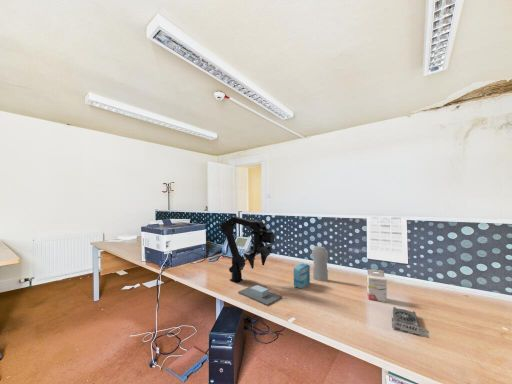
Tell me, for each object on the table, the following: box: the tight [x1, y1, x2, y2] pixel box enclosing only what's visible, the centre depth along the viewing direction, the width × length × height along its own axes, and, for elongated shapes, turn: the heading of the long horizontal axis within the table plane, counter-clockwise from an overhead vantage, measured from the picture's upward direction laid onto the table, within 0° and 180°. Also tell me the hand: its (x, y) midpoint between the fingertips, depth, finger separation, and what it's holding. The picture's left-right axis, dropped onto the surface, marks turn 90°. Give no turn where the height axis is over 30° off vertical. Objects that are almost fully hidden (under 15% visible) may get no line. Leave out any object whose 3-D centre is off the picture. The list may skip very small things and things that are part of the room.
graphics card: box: [391, 306, 430, 338], centre depth 94 cm, size 17×4×12 cm
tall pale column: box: [311, 245, 329, 282], centre depth 144 cm, size 11×4×22 cm, turn 55°
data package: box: [293, 263, 311, 289], centre depth 135 cm, size 12×4×12 cm, turn 138°
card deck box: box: [250, 284, 269, 298], centre depth 122 cm, size 6×8×3 cm, turn 46°
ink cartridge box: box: [366, 269, 388, 303], centre depth 116 cm, size 9×5×15 cm, turn 71°
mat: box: [237, 285, 283, 307], centre depth 122 cm, size 22×12×1 cm, turn 46°
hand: (258, 266), depth 135 cm, fingers open, 9 cm apart
